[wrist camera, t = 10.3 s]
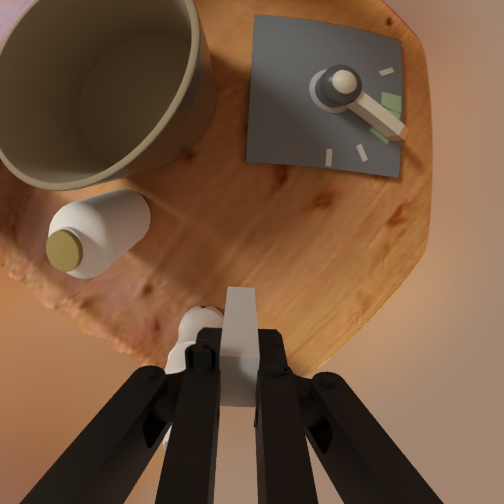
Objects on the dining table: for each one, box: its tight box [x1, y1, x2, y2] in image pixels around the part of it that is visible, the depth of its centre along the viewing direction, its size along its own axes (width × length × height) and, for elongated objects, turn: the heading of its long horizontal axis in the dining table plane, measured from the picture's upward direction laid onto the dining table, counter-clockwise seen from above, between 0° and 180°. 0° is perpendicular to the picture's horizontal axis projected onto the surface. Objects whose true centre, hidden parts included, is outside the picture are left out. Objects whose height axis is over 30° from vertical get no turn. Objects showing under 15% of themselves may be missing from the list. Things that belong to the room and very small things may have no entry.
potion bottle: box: [46, 189, 151, 279], centre depth 34 cm, size 8×8×18 cm
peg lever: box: [315, 64, 410, 141], centre depth 34 cm, size 13×5×6 cm, turn 58°
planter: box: [0, 0, 217, 191], centre depth 28 cm, size 22×22×20 cm
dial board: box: [246, 14, 403, 178], centre depth 37 cm, size 22×22×1 cm
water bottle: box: [163, 306, 224, 450], centre depth 35 cm, size 7×7×25 cm
